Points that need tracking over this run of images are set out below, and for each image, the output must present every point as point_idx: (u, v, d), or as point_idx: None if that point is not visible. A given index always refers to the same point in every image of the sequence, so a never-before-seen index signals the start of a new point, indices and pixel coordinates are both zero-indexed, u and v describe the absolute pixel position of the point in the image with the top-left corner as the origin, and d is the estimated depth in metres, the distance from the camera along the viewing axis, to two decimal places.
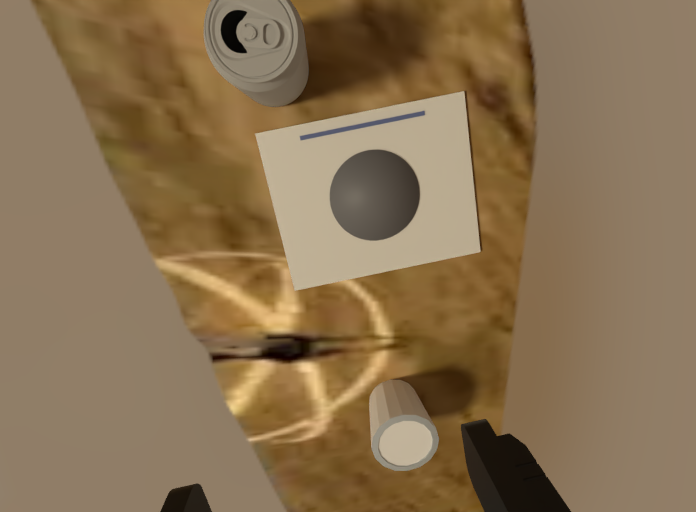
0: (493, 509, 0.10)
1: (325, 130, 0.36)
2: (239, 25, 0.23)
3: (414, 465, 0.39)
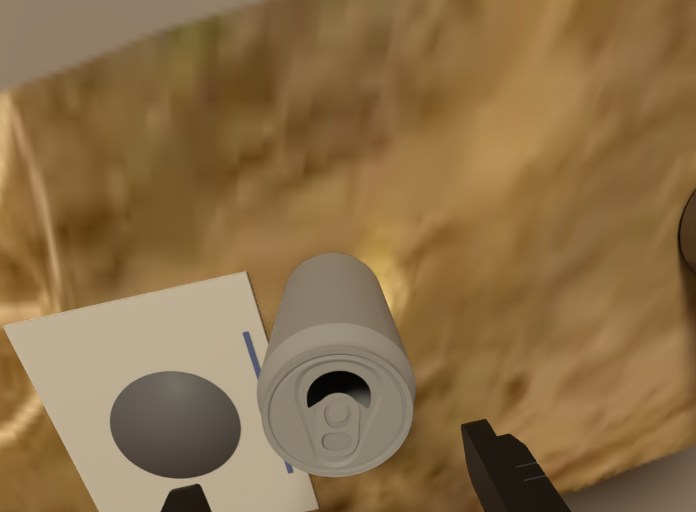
0: (493, 509, 0.10)
1: (259, 363, 0.26)
2: (348, 398, 0.14)
3: None
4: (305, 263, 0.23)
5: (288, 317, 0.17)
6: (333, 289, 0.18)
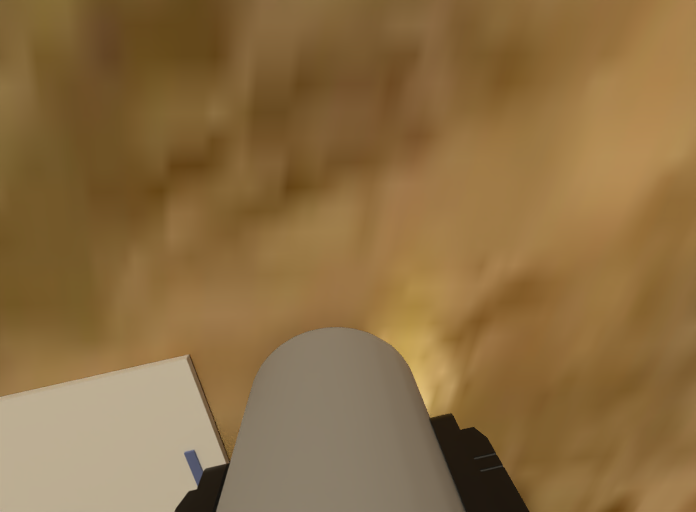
0: None
1: None
2: None
3: None
4: (286, 349, 0.13)
5: None
6: (341, 467, 0.08)
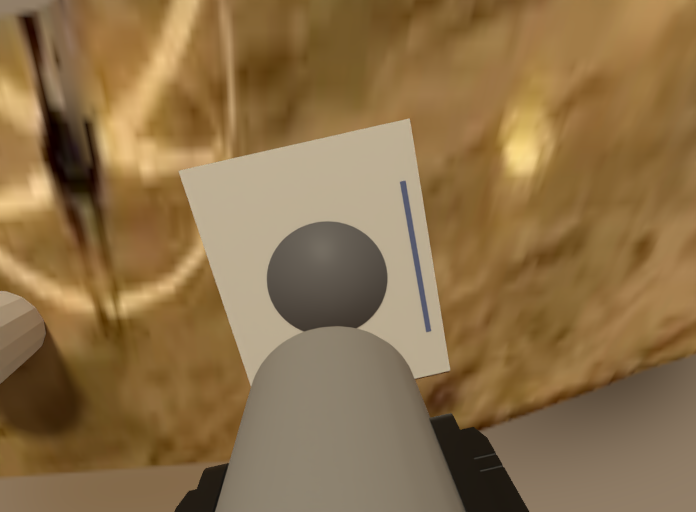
0: None
1: (411, 214, 0.28)
2: None
3: None
4: (286, 348, 0.13)
5: None
6: (341, 465, 0.08)
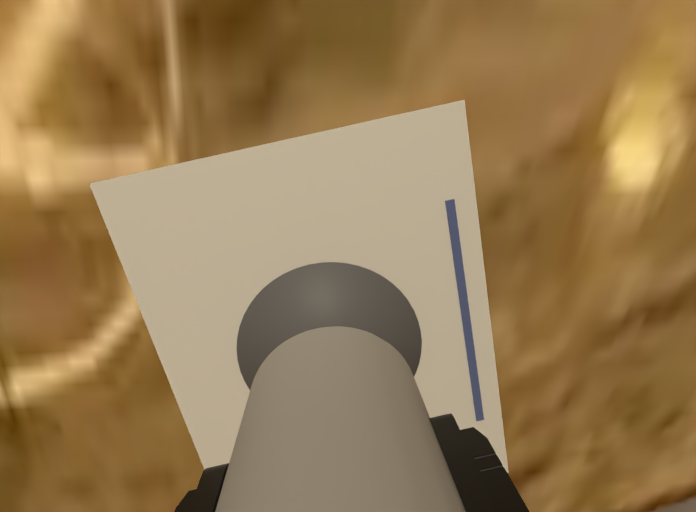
0: None
1: (461, 251, 0.18)
2: None
3: None
4: (286, 348, 0.13)
5: None
6: (341, 466, 0.08)
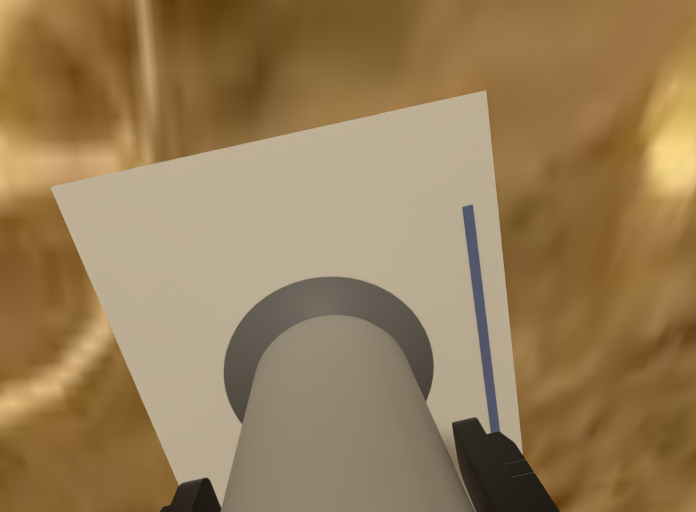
0: (482, 505, 0.10)
1: (480, 264, 0.16)
2: None
3: None
4: (288, 335, 0.14)
5: None
6: (344, 431, 0.09)
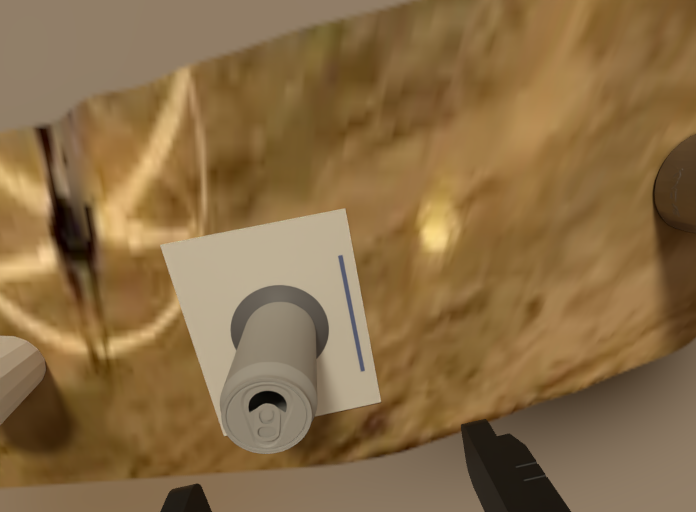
0: (493, 509, 0.10)
1: (347, 280, 0.35)
2: (273, 406, 0.24)
3: None
4: (259, 309, 0.33)
5: (241, 354, 0.27)
6: (272, 335, 0.28)
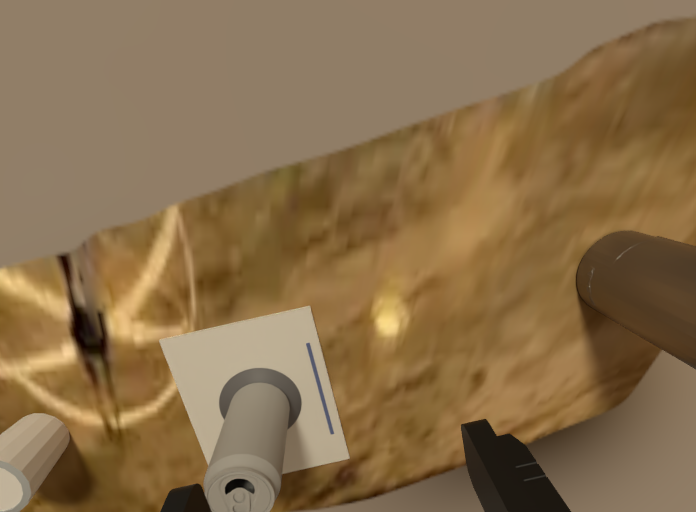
0: (493, 509, 0.10)
1: (315, 362, 0.42)
2: (244, 489, 0.31)
3: None
4: (241, 390, 0.40)
5: (221, 442, 0.34)
6: (246, 423, 0.35)
